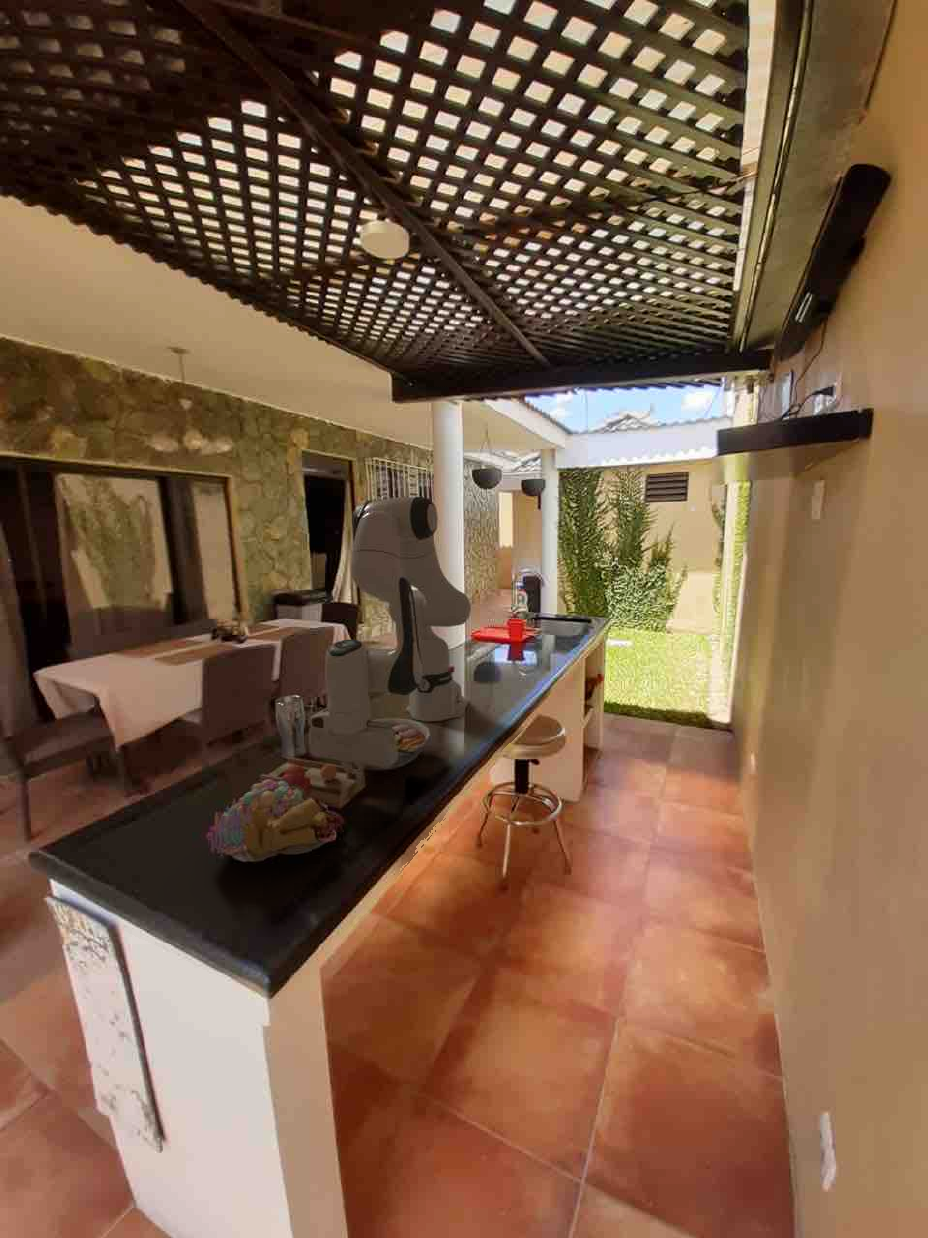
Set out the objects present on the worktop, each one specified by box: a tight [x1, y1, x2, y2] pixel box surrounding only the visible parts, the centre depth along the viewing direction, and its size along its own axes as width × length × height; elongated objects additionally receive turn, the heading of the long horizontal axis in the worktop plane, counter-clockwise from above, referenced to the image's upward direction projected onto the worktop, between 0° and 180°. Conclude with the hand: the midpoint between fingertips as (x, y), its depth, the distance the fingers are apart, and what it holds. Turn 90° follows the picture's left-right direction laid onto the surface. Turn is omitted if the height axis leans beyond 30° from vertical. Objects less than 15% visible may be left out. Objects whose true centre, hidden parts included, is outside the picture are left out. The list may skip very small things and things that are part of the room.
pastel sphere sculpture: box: [205, 764, 346, 863], centre depth 91 cm, size 25×24×9 cm
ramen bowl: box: [352, 717, 431, 771], centre depth 120 cm, size 25×23×8 cm
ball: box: [320, 763, 337, 781], centre depth 107 cm, size 4×4×4 cm
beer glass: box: [274, 694, 307, 760], centre depth 126 cm, size 7×7×15 cm
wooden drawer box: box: [259, 757, 366, 810], centre depth 109 cm, size 10×21×4 cm, turn 69°
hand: (355, 779), depth 105 cm, fingers closed
